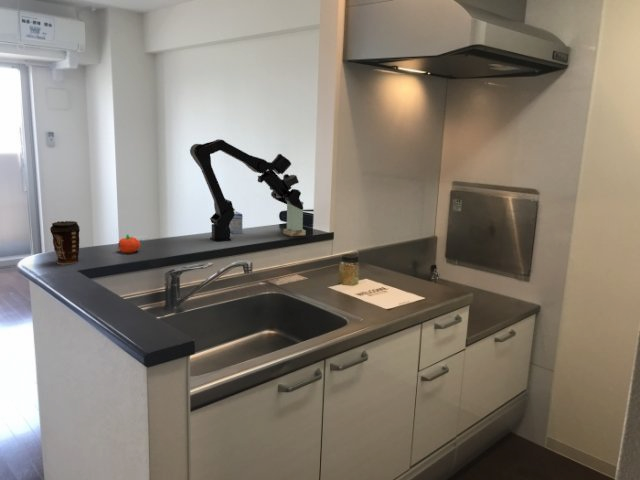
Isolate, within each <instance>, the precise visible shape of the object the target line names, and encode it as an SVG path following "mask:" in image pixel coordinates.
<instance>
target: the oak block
mask: <svg viewBox="0 0 640 480" xmlns="http://www.w3.org/2000/svg"><path fill="white" fill-rule="evenodd" d="M282 233H283V234H284V235H287V236H290V237H298V236H306V229H303V230H299V231H291V230H289V229H287V228H283V231H282Z"/></svg>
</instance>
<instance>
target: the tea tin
mask: <svg viewBox="0 0 640 480" xmlns="http://www.w3.org/2000/svg"><path fill="white" fill-rule="evenodd" d="M300 202H301V204H302V206H303V207H304V201H301V200H300ZM303 223H304V208H303V209H302V210H301V209H299V208H297V207H295V206H293V205H291V204H289V203H288V202H287V204H286V229H289V230H291V231H299V230H304V228H303V227H304V224H303Z"/></svg>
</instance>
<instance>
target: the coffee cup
mask: <svg viewBox="0 0 640 480" xmlns="http://www.w3.org/2000/svg"><path fill="white" fill-rule="evenodd" d="M49 229H50V233H51V236H52V244H53V251H55V253H56V257H57V259H56V264H58V265H64V266H65V265H72V264H77V263H78V262H79V261H80V260H79V254H80V230H81V229H80V226H79V224H78V221H75V220H68V221H67V220H65V221H63V220H62V221H61V220H60V221H55V222H53V223H51V227H50V228H49Z"/></svg>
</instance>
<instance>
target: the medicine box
mask: <svg viewBox="0 0 640 480" xmlns="http://www.w3.org/2000/svg"><path fill="white" fill-rule="evenodd" d="M234 214H235V215H234V217H233V219H232V220H231V222H230V225H229V228H230V234H231V235H241V234H243V219H244V218H243V217H244V216H243V213H241V212H239V211H236V210H235V211H234Z"/></svg>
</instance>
